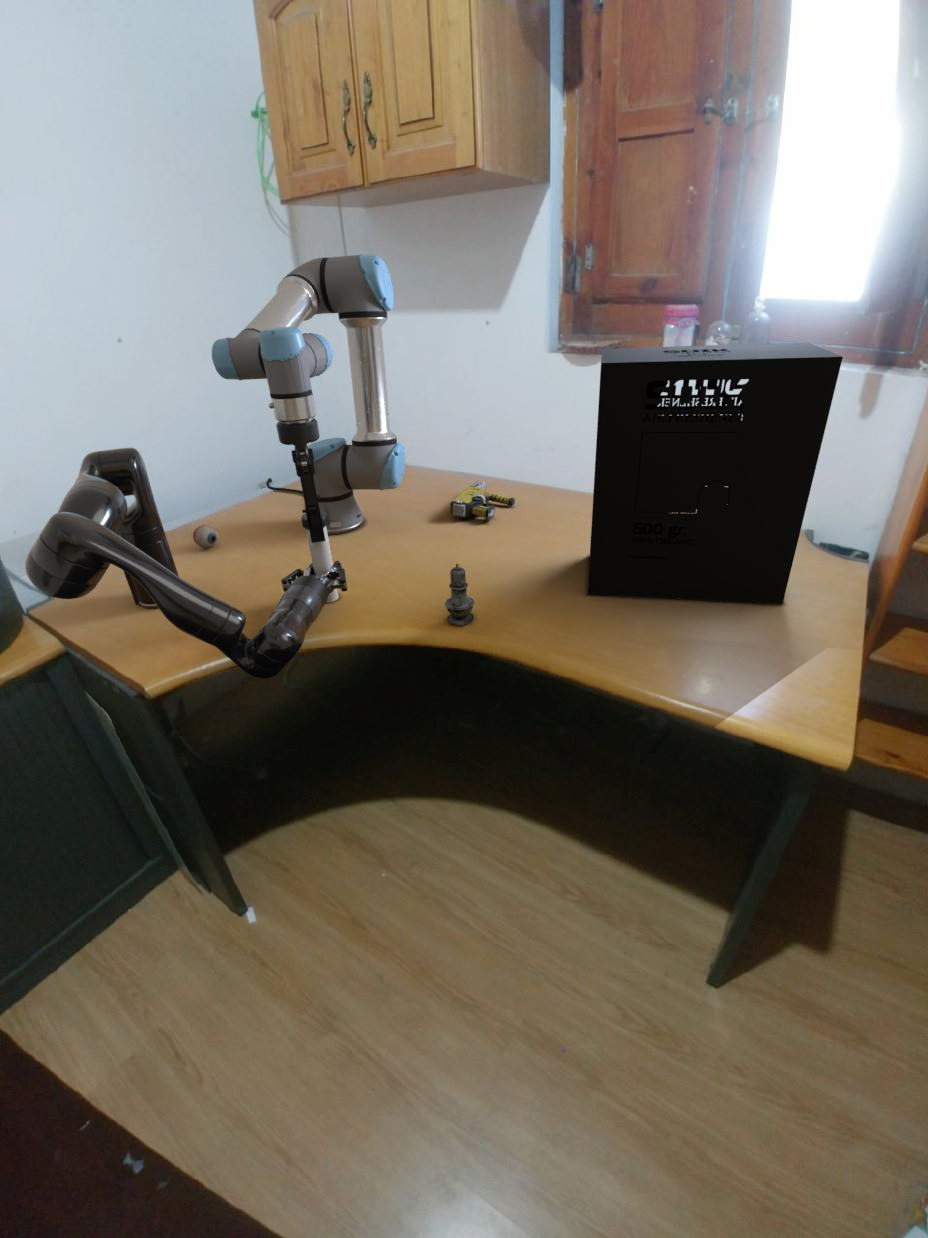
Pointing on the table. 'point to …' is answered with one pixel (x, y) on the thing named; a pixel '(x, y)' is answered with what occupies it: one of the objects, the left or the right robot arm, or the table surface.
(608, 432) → the cardboard box
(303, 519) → the lid
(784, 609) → the table surface
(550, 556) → the table surface
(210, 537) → the eyeball
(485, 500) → the toy gun
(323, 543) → the white cylinder
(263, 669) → the left robot arm
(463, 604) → the dark grey chess piece
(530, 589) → the table surface
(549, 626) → the table surface
